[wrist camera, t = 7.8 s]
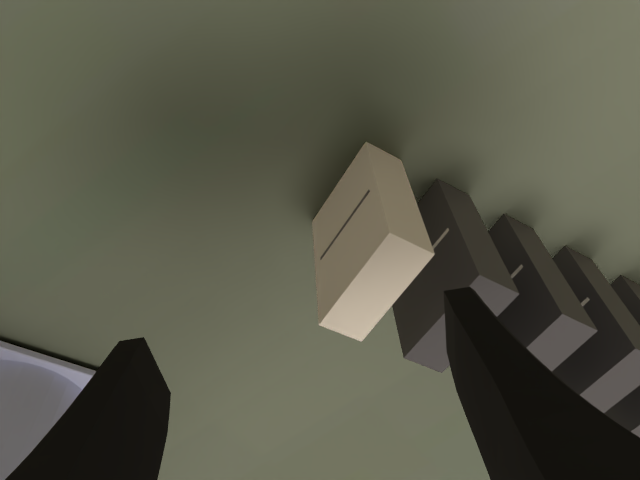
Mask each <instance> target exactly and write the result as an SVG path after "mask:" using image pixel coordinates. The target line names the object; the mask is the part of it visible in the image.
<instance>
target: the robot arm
mask: <svg viewBox="0 0 640 480" xmlns="http://www.w3.org/2000/svg"><path fill="white" fill-rule="evenodd" d="M444 310H445V330H446V349H447V355H448V359H449V363H450V367H451V371H452V375H453V379H454V382H455V386H456V390H457V393H458V396H459V398H460V401H461V404H462V406H463V409H464V411H465V414H466V417H467V419H468V422H469V425H470V427H471V430H472V432H473V435H474V437H475V440H476V443H477V445H478V448H479V450H480V453H481V456H482V458H483V461H484V463H485V466H486V468H487V471H488V474H489V476H490V479H491V480H640V437H638V436H637V435H635V434H634V433H632V432H631V431H629V430H627V429H626V428H624V427H623V426H621V425H620V424H618V423H617V422H615V421H614V420H613V419H611V418H610V417H608V416H607V415H606V414H604V413H603V412H601V411H600V410H599V409H597V408H596V407H595V406H593V405H592V404H591V403H589V402H588V401H587V400H585V399H584V398H583V397H582V396H580V395H579V394H578V393H576V392H575V391H574V390H573V389H572V388H570V387H569V386H568V385H567V384H565V383H564V382H563V381H562V380H561V379H560V378H558V377H557V376H556V375H555V374H554V373H553V372H552V371H551V370H549V369H548V368H547V367H546V366H545V365H544V364H543V363H542V362H541V361H539V360H538V359H537V358H536V357H535V356H534V355H533V354H532V353H531V352H530V351H529V350H528V349H527V348H526V347H525V346H524V345H523V344H522V343H521V342H520V341H519V340H518V339H517V338H516V337H515V336H514V335H513V334H512V333H511V332H510V331H509V330H508V329H507V328H506V327H505V325H504V324H503V323H502V322H501V321H500V320H499V319H498V318H497V317H496V315H495V314H494V313H493V312H492V311H491V310H490V309H489V307H488V306H487V305H486V304H485V303H484V301H483V300H482V299H481V298H480V296H479V295H478V294H477V293H476V291H475V290H474V289H472V288H471V287H465V288H458V289H452V290H446V291H444ZM170 396H171V393H170V391H169V389H168V387H167V384H166V382H165V380H164V378H163V376H162V374H161V372H160V370H159V368H158V366H157V364H156V361H155V359H154V357H153V355H152V353H151V351H150V349H149V347H148V345H147V343H146V341H145V338H144V337H143V338H136V339H130V340H124V341H119V342H118V344H117V345H116V346H115V348H114V349H113V350H112V351H111V353H110V354H109V355H108V357H107V358H106V359H105V361H104V362H103V363H102V365H101V366H100V367H99V369H98V370H97V371H95V370H91V369H88V368H85V367H82V366H79V365H76V364H72V363H69V362H66V361H63V360H60V359H57V358H53V357H50V356H47V355H44V354H41V353H38V352H34V351H31V350H28V349H25V348H22V347H19V346H15V345H12V344H9V343H6V342H3V341H0V480H157V478H158V474H159V470H160V465H161V460H162V456H163V451H164V447H165V442H166V437H167V431H168V421H169V410H170Z"/></svg>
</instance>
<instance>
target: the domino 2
mask: <svg viewBox="0 0 640 480" xmlns="http://www.w3.org/2000/svg"><path fill="white" fill-rule="evenodd" d="M417 205H418V208H419V211H420V214H421V217H422V219H423V222H424V225H425V228H426V231H427V233H428V236H429V239H430V242H431V245H432V247H433V250H434V253H435V255H434V256H433V257H432V258H431V260H430V261H429V262H428V263H427V264H426V266H425V267H424V268H423V269H422V270H421V271H420V273H419V274H418V275H417V276H416V277H415V279H414V280H413V281H412V282H411V283H410V285H409V286H408V287H407V288H406V289H405V290H404V292H403V293H402V294H401V295H400V296H399V298H398V299H397V300H396V301H395V302H394V304H393V305H392V307H393V311H394V316H395V320H396V325H397V330H398V334H399V339H400V343H401V348H402V352H403V357H404V358H405V359H408V360H410V361H413V362H416V363H418V364H421V365H423V366H426V367H428V368H431V369H433V370H436V371H438V372H441V373H442V372H443V371H444V370H445V369H446V368H447V367H448V366H449V365H450V363H449V359H448V355H447V349H446V330H445V310H444V291H446V290H452V289H458V288H465V287H471V288H472V289H474V290H475V291H476V293H477V294H478V295H479V296H480V298H481V299H482V300H483V301H484V303H485V304H486V305H487V306H488V307H489V309H490V310H491V311H492V312H493V313H494V314H495V315H496V317H497V316H498V315H499V314H500V313H501V312H502V311H503V310H504V309H505V308H506V307H507V306H508V305H509V304H510V303H511V302H512V301H513V300H514V299H515V298H516V297H517V296H518V295H519V292H518V290H517V288H516V286H515V284H514V282H513V280H512V278H511V276H510V274H509V272H508V270H507V268H506V266H505V264H504V262H503V260H502V258H501V256H500V254H499V252H498V250H497V249H496V247H495V245H494V243H493V241H492V239H491V237H490V235H489V233H488V231H487V229H486V227H485V225H484V223H483V221H482V219H481V217H480V215H479V213H478V211H477V209H476V207H475V205H474V203H473V201H472V199H471V198H470V196H469V195H468V194H466V193H464V192H462V191H460V190H458V189H456V188H454V187H452V186H450V185H449V184H447V183H445V182H443V181H441V180H439V179H436V181H435V182H434V183H433V184H432V186H431V187H430V188H429V190H428V191H427V192H426V194H425V195H424V196H423V197H422V199H421V200H420V201H419V203H418V204H417Z"/></svg>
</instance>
